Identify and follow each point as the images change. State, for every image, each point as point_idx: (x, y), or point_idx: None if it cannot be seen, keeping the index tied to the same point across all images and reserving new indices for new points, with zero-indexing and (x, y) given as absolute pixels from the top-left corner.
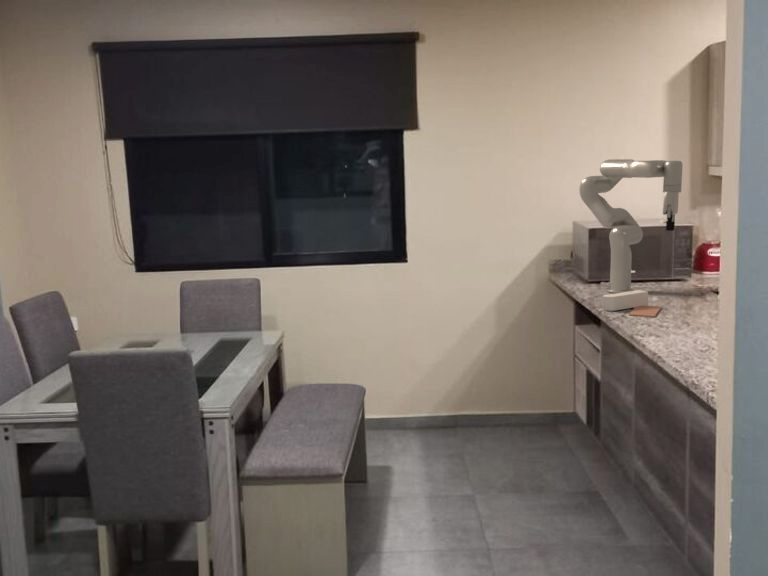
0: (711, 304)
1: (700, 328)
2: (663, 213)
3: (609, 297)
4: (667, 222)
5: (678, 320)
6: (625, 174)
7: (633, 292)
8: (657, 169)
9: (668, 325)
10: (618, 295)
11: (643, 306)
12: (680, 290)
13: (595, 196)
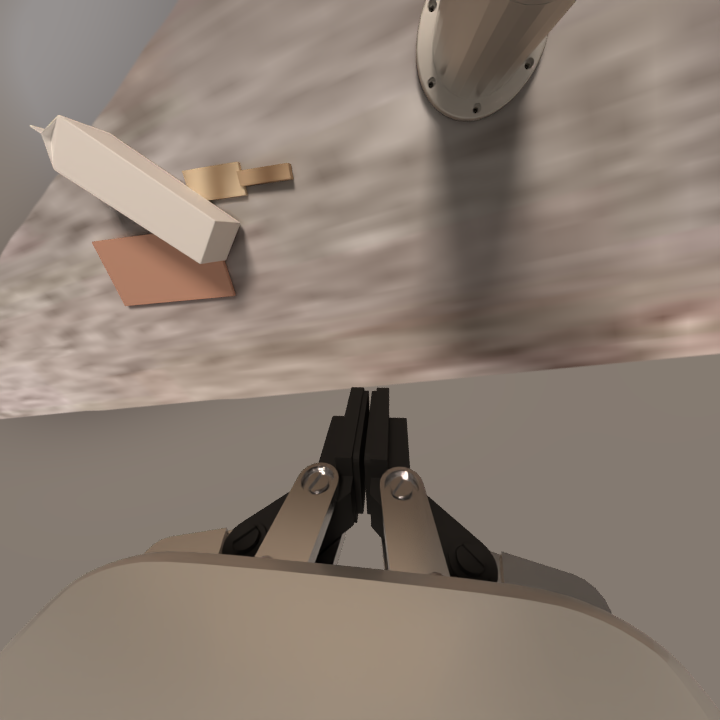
0: None
1: (115, 395)
2: (65, 588)
3: (51, 154)
4: (337, 456)
5: (143, 353)
6: None
7: (162, 218)
8: None
9: (88, 345)
10: (86, 181)
11: None
12: (560, 285)
13: None
